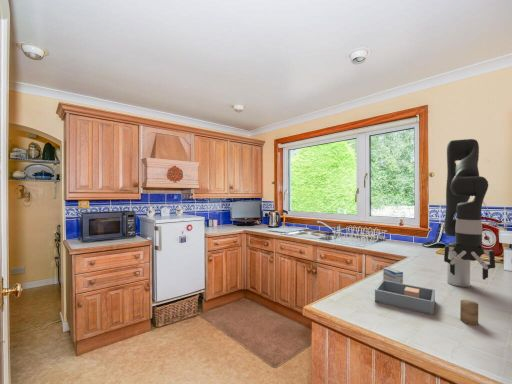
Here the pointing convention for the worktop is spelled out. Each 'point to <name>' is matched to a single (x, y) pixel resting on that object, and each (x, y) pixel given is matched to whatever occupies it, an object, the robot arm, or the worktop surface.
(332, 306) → the worktop surface
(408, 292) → the terracotta cube
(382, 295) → the tote
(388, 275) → the medicine box
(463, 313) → the walnut cylinder
